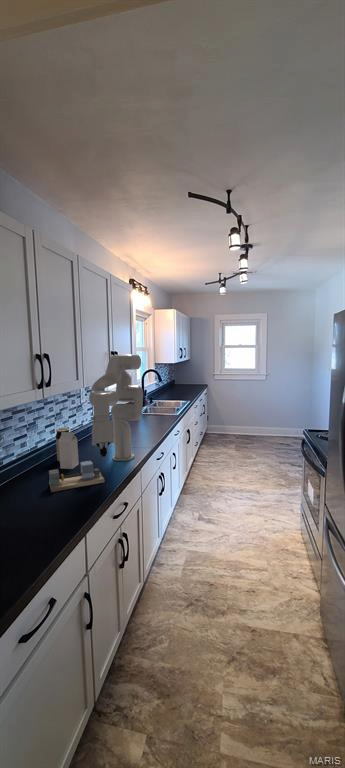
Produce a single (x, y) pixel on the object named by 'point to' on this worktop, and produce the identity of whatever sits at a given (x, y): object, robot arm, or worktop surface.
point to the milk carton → (68, 450)
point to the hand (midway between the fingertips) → (103, 455)
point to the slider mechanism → (72, 480)
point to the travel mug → (59, 438)
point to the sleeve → (87, 470)
